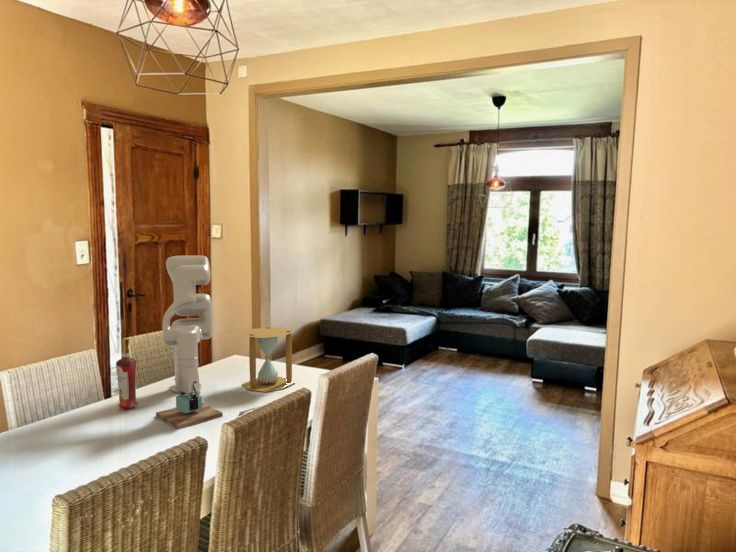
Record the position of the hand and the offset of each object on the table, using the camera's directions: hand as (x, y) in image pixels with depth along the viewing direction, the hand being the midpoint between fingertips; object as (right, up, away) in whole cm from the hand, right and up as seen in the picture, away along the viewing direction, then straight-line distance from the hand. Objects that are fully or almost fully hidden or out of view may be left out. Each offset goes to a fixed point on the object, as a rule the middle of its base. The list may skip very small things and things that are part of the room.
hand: (189, 406), depth 203 cm
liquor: (-28, -3, +9) cm, 29 cm away
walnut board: (0, -4, 0) cm, 4 cm away
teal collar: (0, -1, 0) cm, 1 cm away
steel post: (0, -2, 0) cm, 2 cm away
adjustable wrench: (+28, -3, +11) cm, 30 cm away
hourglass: (+23, 0, +41) cm, 47 cm away
